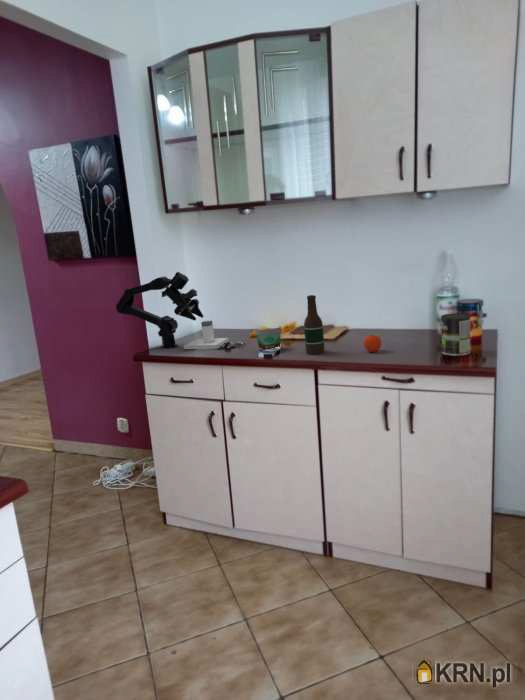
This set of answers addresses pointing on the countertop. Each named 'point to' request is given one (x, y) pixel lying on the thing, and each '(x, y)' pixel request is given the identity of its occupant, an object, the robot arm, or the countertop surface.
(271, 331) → the food container
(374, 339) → the clementine
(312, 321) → the beer bottle
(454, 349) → the coffee can
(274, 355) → the countertop surface
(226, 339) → the socket
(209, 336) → the plug
